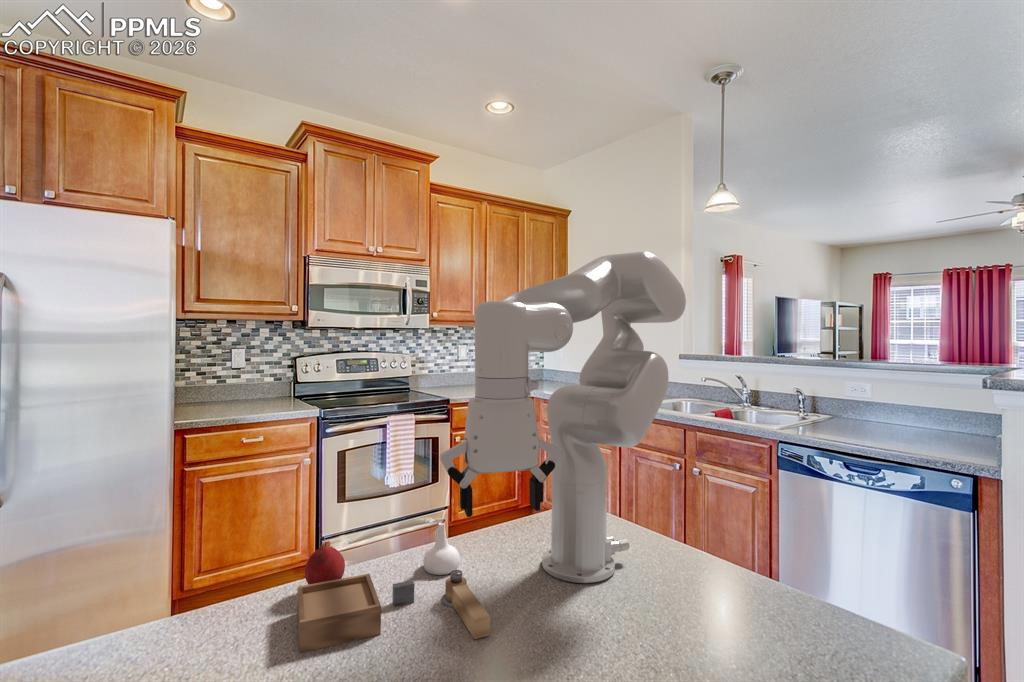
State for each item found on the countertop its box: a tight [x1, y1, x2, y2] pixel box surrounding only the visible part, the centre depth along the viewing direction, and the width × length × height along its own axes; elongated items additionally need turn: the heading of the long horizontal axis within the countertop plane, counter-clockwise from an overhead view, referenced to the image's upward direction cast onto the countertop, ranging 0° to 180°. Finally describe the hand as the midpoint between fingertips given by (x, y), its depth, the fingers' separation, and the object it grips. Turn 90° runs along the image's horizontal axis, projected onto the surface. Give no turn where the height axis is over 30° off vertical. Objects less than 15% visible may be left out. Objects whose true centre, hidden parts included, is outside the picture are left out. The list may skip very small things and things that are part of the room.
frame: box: [391, 569, 463, 608], centre depth 75 cm, size 11×5×4 cm, turn 115°
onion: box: [304, 539, 346, 585], centre depth 78 cm, size 6×6×8 cm
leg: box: [444, 576, 491, 640], centre depth 72 cm, size 13×3×2 cm, turn 25°
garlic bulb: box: [422, 522, 461, 576], centre depth 87 cm, size 6×6×8 cm
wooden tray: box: [296, 573, 382, 654], centre depth 69 cm, size 10×10×4 cm
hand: (501, 510), depth 71 cm, fingers open, 9 cm apart
